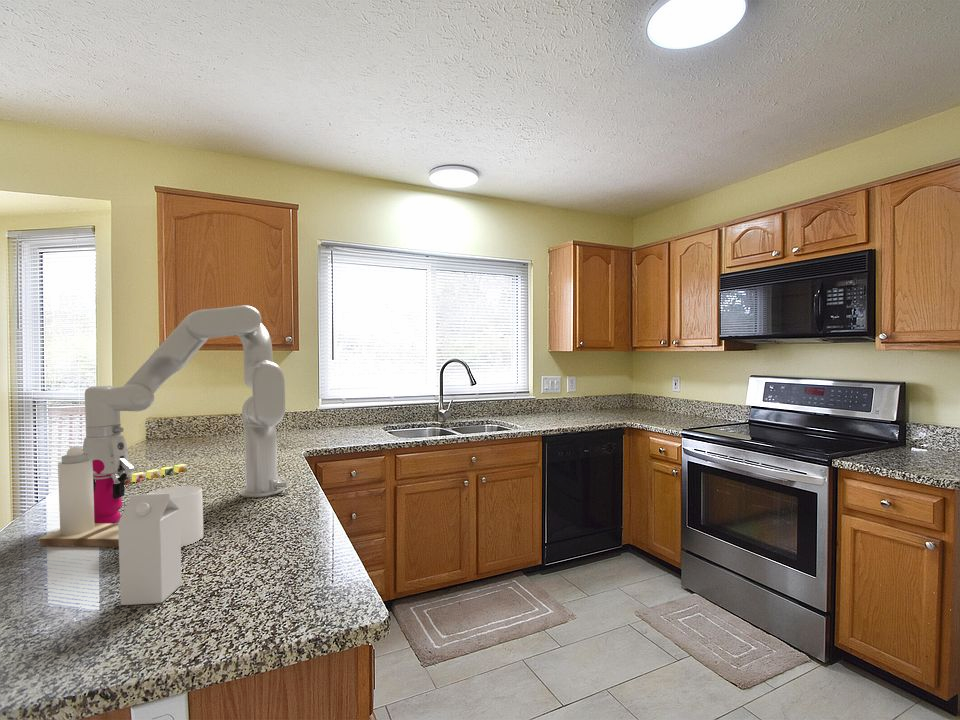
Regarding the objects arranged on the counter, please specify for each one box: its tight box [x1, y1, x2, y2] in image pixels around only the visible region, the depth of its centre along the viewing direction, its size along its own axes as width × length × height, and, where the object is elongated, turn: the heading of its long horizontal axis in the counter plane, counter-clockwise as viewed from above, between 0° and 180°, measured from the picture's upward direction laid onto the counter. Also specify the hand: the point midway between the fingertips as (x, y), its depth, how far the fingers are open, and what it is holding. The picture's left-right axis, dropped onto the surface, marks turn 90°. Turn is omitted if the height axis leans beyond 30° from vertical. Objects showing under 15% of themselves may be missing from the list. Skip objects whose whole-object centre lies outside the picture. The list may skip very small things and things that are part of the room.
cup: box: [147, 484, 204, 548], centre depth 120 cm, size 12×12×12 cm
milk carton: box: [117, 493, 183, 606], centre depth 93 cm, size 7×7×19 cm
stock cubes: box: [124, 463, 188, 486], centre depth 181 cm, size 32×32×3 cm
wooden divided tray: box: [39, 522, 119, 548], centre depth 122 cm, size 22×10×2 cm, turn 86°
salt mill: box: [57, 445, 95, 535], centre depth 122 cm, size 7×7×21 cm
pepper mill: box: [93, 460, 123, 523], centre depth 135 cm, size 7×7×20 cm
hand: (105, 496), depth 135 cm, fingers open, 6 cm apart
